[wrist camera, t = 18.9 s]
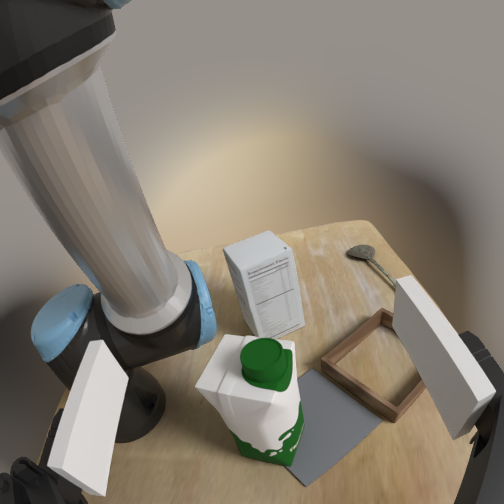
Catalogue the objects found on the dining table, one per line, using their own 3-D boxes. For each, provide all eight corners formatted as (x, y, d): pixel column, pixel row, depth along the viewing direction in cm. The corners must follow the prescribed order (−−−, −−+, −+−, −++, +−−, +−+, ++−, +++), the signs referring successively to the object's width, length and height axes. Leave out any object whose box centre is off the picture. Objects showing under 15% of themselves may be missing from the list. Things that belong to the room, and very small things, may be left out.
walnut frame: (321, 370, 47) (320, 358, 46) (381, 319, 54) (381, 307, 52) (394, 423, 36) (397, 413, 34) (449, 357, 42) (453, 345, 40)
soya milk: (295, 473, 33) (271, 396, 23) (232, 459, 36) (176, 376, 27) (312, 420, 39) (298, 321, 30) (253, 410, 43) (216, 314, 33)
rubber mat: (241, 418, 42) (241, 417, 42) (312, 368, 48) (312, 367, 48) (306, 487, 31) (305, 486, 31) (382, 421, 37) (382, 420, 36)
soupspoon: (366, 247, 78) (343, 255, 77) (364, 236, 76) (342, 244, 76) (414, 291, 58) (388, 303, 58) (414, 278, 57) (388, 290, 56)
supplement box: (284, 300, 65) (270, 228, 57) (306, 325, 57) (295, 247, 49) (242, 319, 63) (220, 246, 55) (260, 347, 55) (238, 270, 47)
